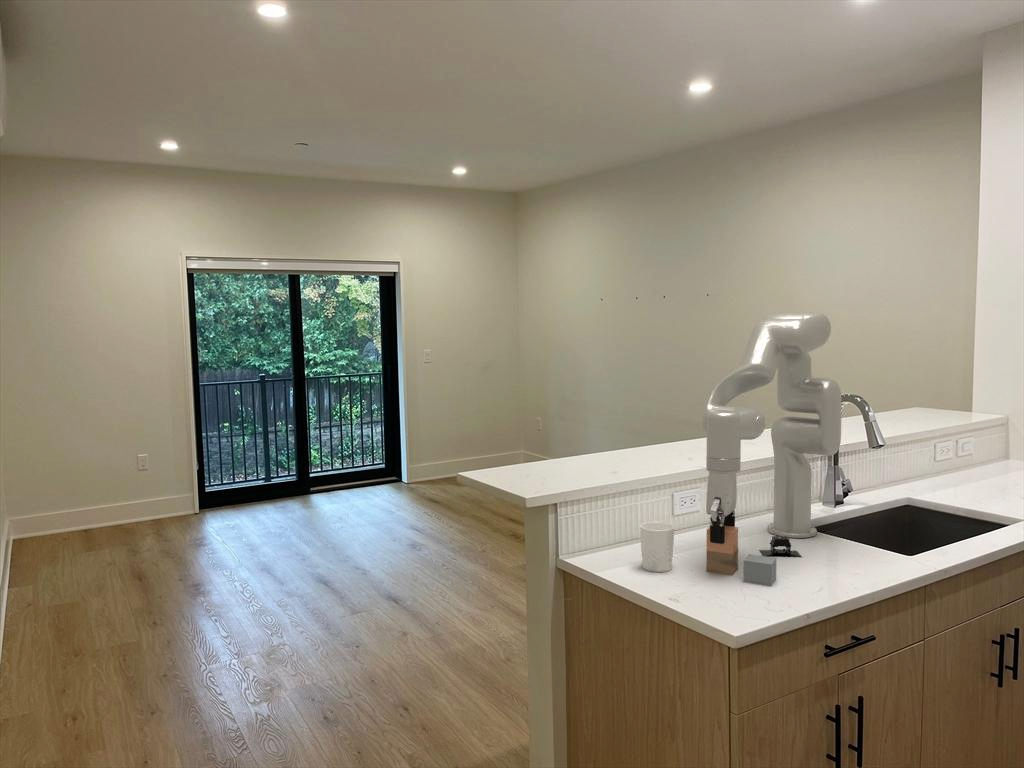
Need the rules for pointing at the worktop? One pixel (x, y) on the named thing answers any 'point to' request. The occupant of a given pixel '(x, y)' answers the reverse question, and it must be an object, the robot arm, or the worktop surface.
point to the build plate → (780, 542)
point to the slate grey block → (759, 570)
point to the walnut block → (722, 563)
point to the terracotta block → (730, 541)
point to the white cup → (657, 546)
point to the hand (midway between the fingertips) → (722, 537)
